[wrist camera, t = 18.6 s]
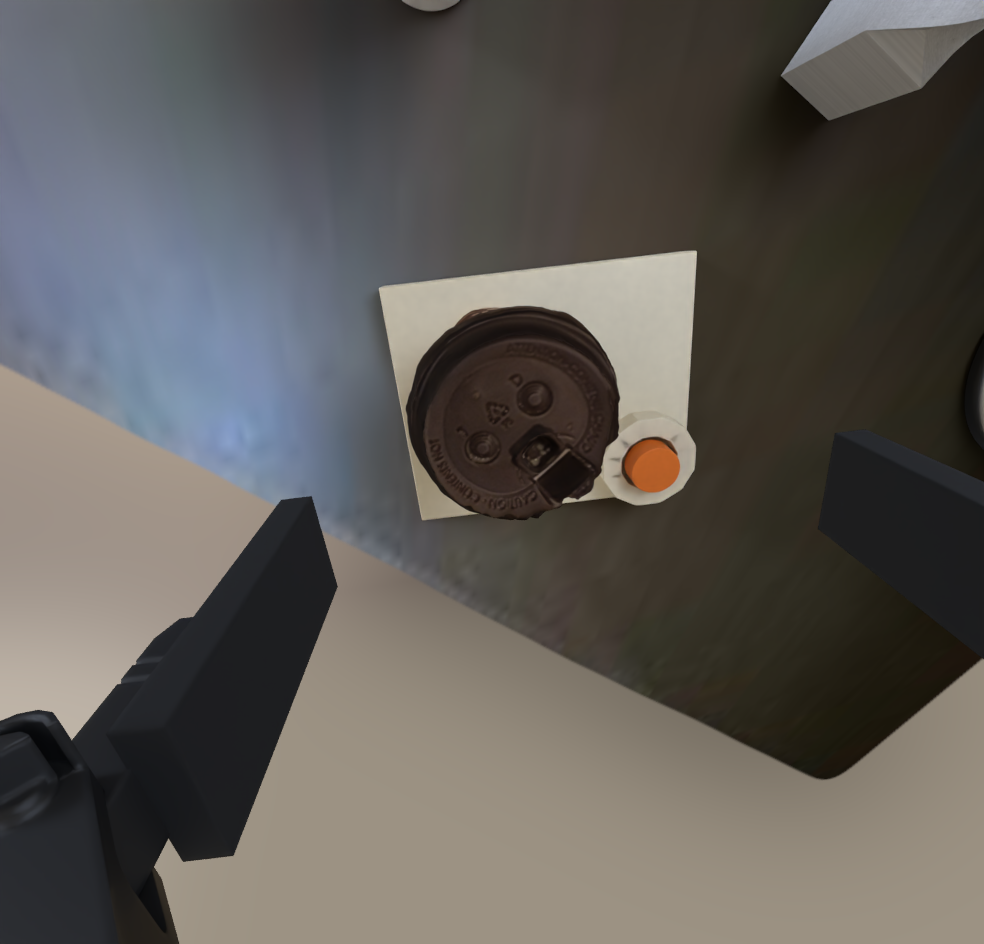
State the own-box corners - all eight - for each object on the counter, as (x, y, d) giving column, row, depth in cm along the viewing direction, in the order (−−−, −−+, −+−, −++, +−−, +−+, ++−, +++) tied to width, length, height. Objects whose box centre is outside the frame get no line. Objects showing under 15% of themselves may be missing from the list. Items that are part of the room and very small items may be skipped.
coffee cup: (566, 425, 32) (630, 529, 20) (436, 439, 32) (422, 554, 20) (561, 279, 28) (634, 300, 16) (414, 295, 28) (381, 328, 16)
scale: (687, 250, 29) (710, 250, 27) (675, 480, 36) (693, 499, 33) (381, 286, 29) (374, 289, 26) (423, 511, 35) (420, 533, 33)
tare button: (671, 436, 31) (681, 445, 30) (669, 479, 32) (679, 490, 31) (624, 442, 31) (632, 451, 30) (624, 485, 32) (631, 496, 31)
